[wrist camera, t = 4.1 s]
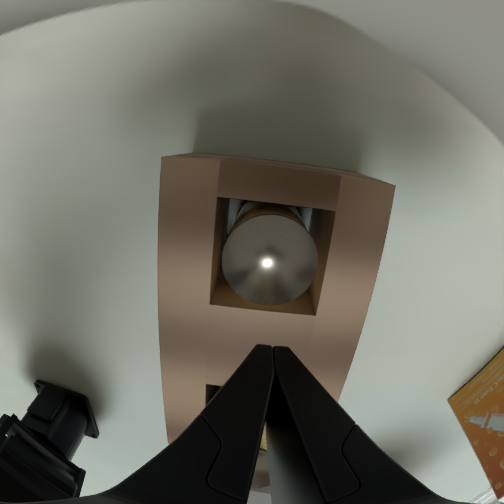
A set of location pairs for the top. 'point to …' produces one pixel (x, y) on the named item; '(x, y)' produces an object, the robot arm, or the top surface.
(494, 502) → the building
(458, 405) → the small box
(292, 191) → the walnut block
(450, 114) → the top surface
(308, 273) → the brass peg
